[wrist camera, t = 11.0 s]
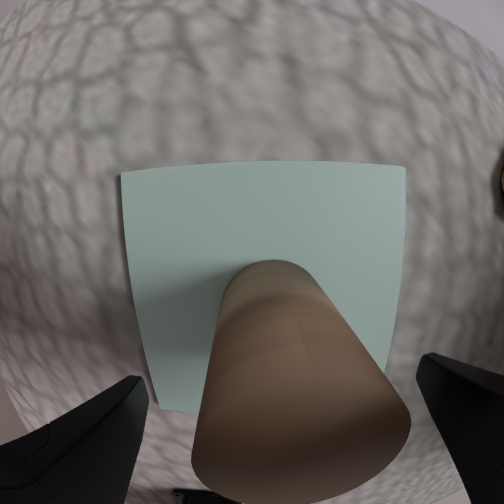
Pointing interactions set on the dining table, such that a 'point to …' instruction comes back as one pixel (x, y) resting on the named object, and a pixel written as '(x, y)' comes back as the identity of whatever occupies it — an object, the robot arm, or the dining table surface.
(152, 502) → the dining table surface
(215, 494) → the robot arm
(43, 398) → the dining table surface
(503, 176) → the pastry
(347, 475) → the brown rounded cylinder
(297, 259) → the card
